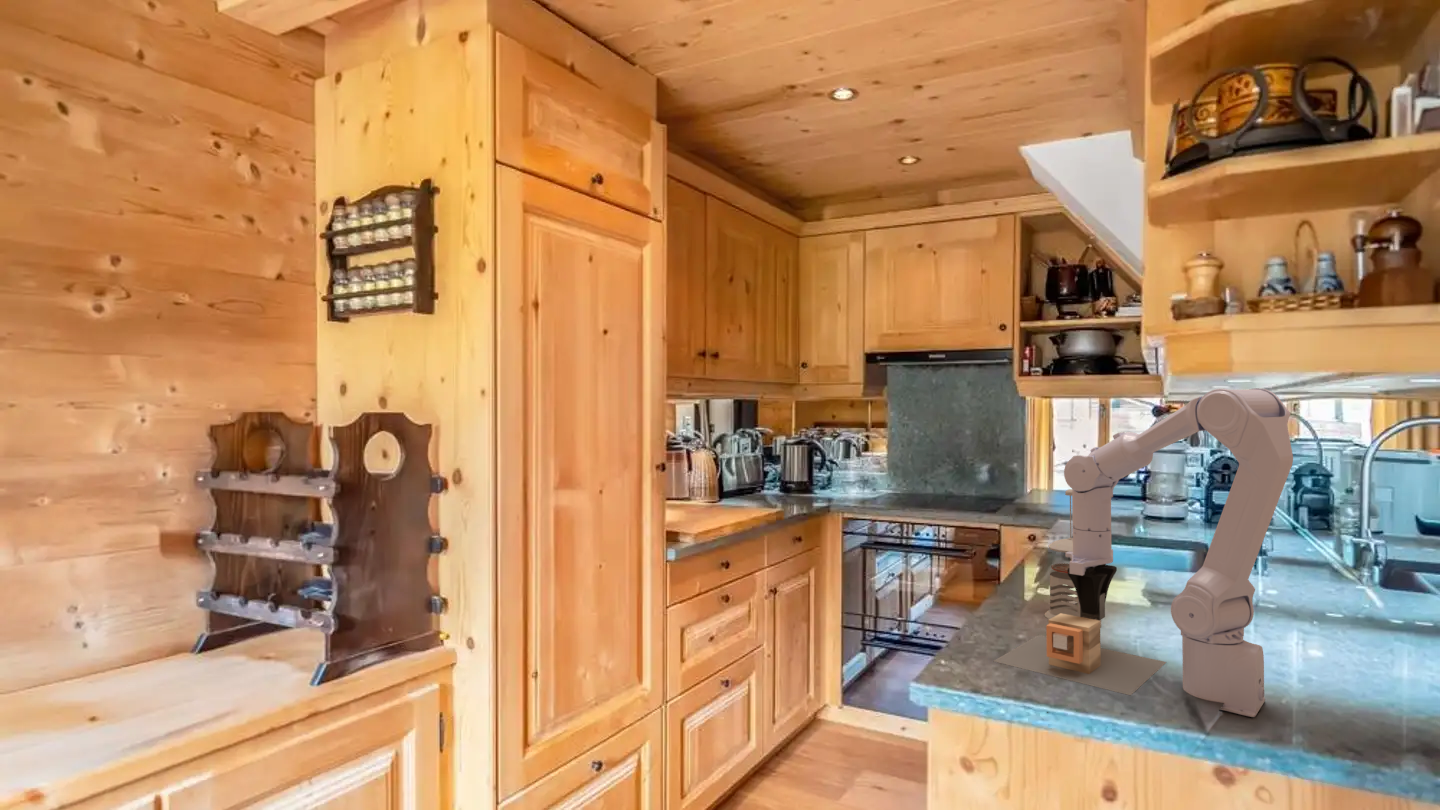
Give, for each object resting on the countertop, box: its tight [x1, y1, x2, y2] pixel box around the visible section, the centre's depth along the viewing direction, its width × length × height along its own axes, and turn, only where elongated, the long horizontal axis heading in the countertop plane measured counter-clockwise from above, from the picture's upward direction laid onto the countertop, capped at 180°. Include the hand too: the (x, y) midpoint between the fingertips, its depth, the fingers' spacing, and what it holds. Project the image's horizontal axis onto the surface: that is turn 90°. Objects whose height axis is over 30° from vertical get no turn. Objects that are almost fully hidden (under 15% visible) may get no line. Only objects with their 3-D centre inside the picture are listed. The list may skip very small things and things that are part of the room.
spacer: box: [1045, 623, 1083, 664], centre depth 114 cm, size 5×2×5 cm, turn 45°
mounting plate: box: [992, 634, 1167, 696], centre depth 118 cm, size 20×18×1 cm
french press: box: [1044, 488, 1080, 620], centre depth 144 cm, size 10×12×25 cm
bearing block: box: [1047, 613, 1101, 674], centre depth 117 cm, size 6×5×7 cm
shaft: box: [1053, 592, 1106, 650], centre depth 118 cm, size 3×15×6 cm, turn 135°
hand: (1092, 611), depth 122 cm, fingers closed on shaft, 2 cm apart
